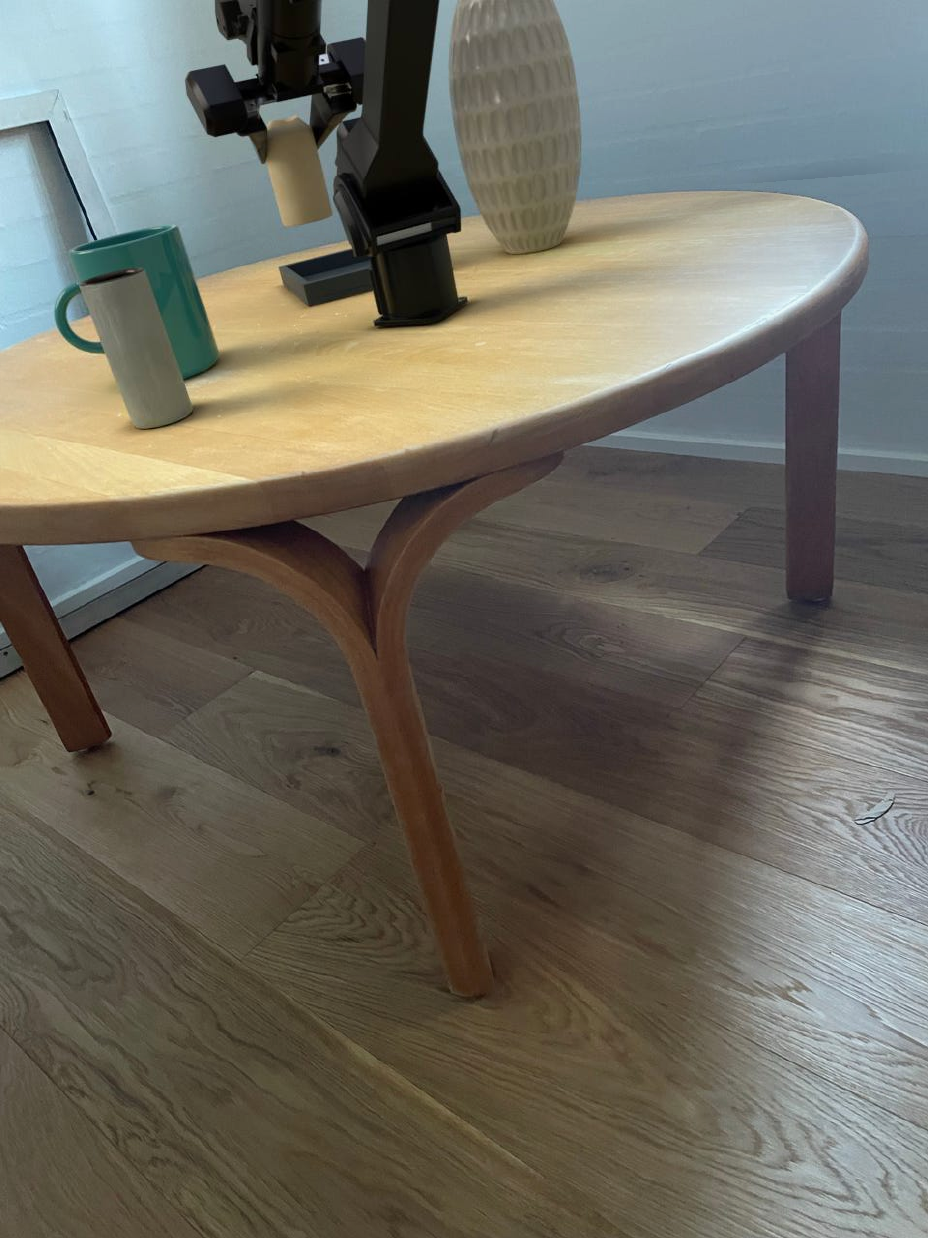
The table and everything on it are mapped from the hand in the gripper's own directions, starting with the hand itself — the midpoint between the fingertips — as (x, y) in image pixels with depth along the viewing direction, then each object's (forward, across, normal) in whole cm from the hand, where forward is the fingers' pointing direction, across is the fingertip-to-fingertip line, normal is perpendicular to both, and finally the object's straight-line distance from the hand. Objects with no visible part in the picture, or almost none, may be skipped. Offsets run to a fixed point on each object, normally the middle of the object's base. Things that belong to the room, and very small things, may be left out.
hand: (287, 154), depth 96 cm
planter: (-14, +25, +34) cm, 44 cm away
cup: (-4, +23, +24) cm, 34 cm away
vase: (0, -20, +19) cm, 28 cm away
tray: (+7, -3, +12) cm, 14 cm away
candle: (+4, 0, +6) cm, 7 cm away
